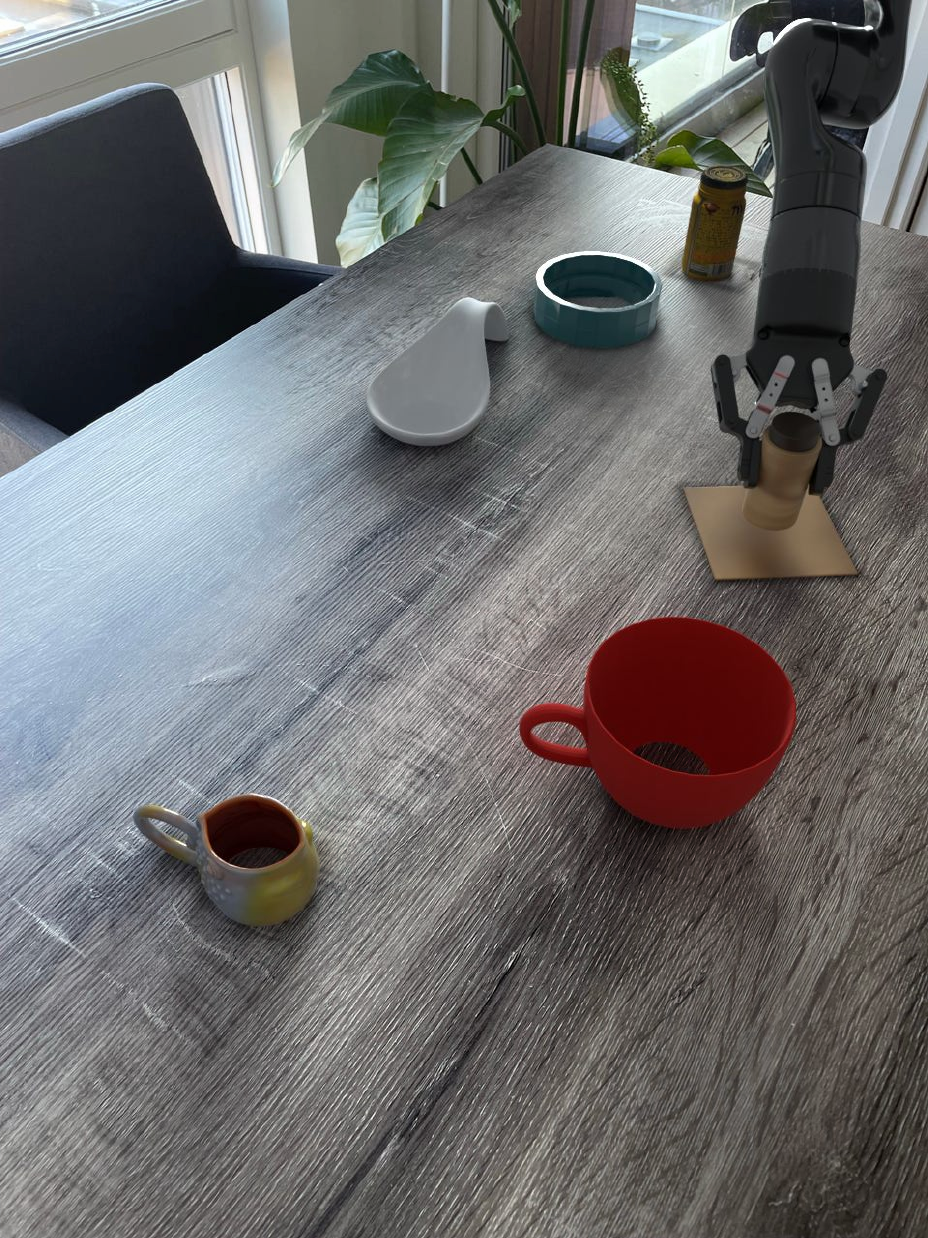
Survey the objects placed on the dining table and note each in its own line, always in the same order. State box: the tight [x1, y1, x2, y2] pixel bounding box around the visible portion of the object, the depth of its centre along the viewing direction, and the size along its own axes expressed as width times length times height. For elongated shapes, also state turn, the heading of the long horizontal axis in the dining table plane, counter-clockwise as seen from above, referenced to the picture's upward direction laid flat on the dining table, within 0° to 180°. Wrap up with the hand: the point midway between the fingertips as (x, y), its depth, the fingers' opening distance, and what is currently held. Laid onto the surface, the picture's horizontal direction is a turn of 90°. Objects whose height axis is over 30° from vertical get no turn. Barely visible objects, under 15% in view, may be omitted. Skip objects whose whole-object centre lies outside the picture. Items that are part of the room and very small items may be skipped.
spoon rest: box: [364, 296, 510, 447], centre depth 99 cm, size 24×12×7 cm, turn 160°
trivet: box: [682, 485, 859, 581], centre depth 86 cm, size 12×12×1 cm
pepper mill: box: [742, 411, 822, 531], centre depth 82 cm, size 5×5×9 cm
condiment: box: [681, 164, 756, 283], centre depth 115 cm, size 7×8×12 cm
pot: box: [532, 251, 663, 349], centre depth 110 cm, size 14×14×5 cm
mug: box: [132, 791, 321, 928], centre depth 61 cm, size 12×7×7 cm, turn 69°
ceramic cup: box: [518, 616, 797, 830], centre depth 65 cm, size 13×17×10 cm
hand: (783, 490), depth 81 cm, fingers closed on pepper mill, 4 cm apart
